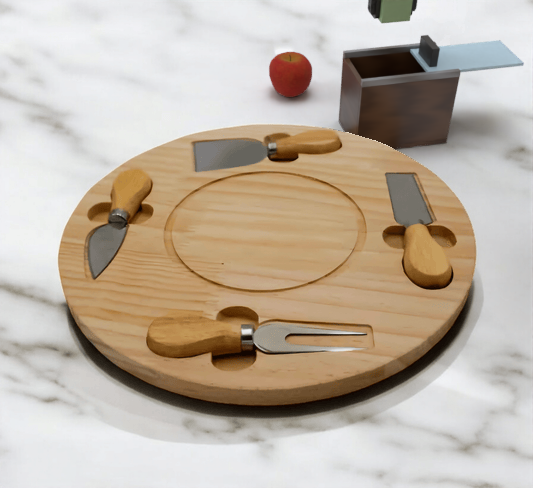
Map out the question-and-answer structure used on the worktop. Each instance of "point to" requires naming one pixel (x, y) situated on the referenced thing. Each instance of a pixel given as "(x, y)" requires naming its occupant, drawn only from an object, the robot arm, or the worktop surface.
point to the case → (395, 97)
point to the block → (395, 11)
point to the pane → (464, 56)
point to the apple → (290, 73)
